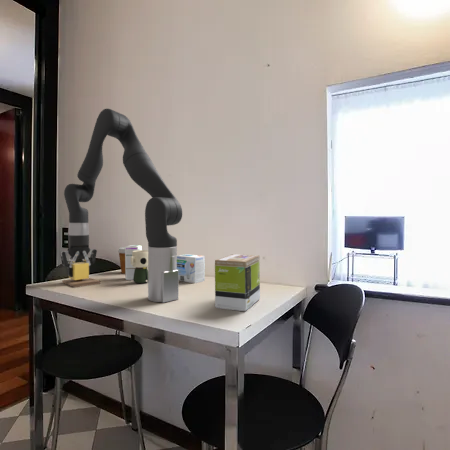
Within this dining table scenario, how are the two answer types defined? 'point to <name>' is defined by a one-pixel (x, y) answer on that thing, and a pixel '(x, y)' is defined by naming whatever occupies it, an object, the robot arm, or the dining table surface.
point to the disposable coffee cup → (122, 259)
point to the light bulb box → (191, 268)
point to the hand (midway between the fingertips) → (79, 275)
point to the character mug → (140, 265)
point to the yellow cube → (80, 271)
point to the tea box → (237, 282)
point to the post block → (81, 282)
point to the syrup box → (128, 267)
